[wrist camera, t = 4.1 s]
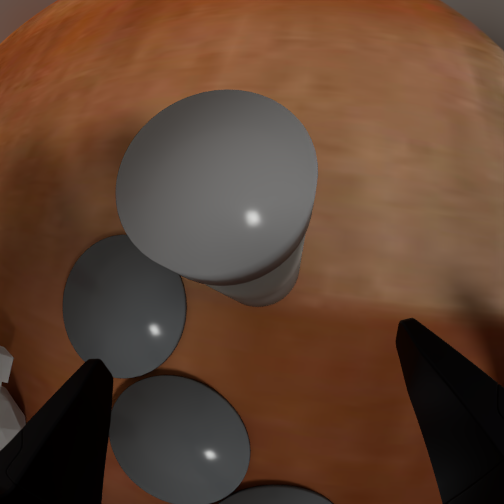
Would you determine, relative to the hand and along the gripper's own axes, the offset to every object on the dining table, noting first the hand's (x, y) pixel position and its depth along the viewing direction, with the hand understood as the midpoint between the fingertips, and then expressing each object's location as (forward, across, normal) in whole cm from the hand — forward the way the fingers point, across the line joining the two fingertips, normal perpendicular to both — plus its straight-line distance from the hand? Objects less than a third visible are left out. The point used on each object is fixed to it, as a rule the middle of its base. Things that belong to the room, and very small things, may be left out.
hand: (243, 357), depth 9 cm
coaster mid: (+3, +7, +12) cm, 15 cm away
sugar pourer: (+11, 0, +5) cm, 12 cm away
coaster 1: (+10, +10, +6) cm, 15 cm away
